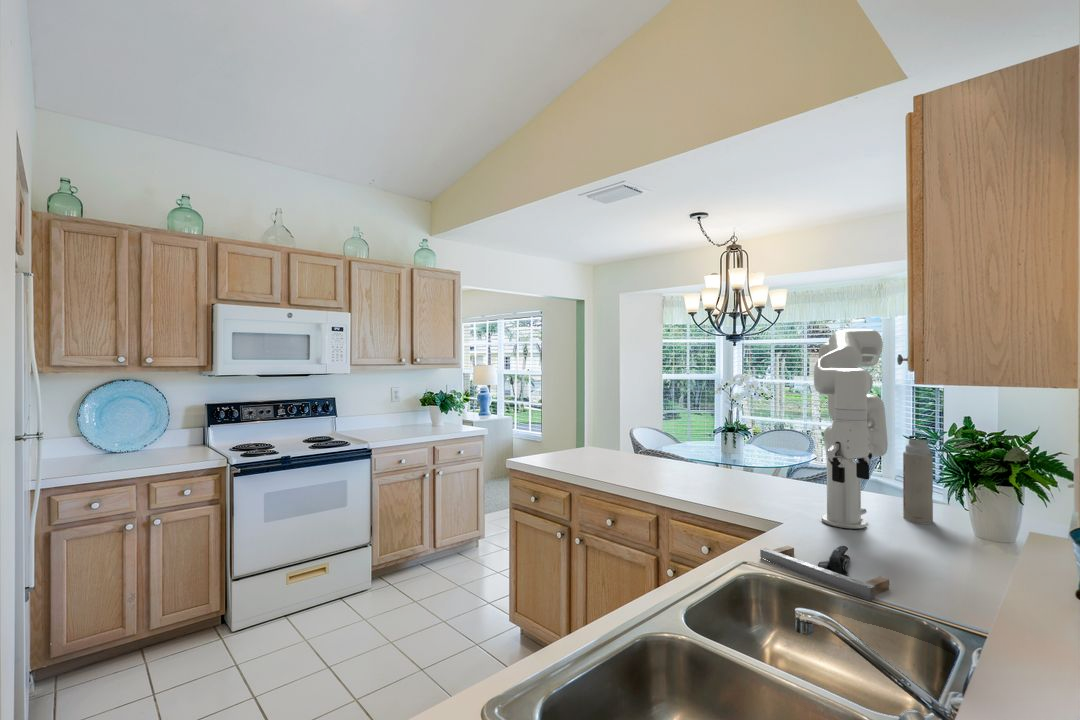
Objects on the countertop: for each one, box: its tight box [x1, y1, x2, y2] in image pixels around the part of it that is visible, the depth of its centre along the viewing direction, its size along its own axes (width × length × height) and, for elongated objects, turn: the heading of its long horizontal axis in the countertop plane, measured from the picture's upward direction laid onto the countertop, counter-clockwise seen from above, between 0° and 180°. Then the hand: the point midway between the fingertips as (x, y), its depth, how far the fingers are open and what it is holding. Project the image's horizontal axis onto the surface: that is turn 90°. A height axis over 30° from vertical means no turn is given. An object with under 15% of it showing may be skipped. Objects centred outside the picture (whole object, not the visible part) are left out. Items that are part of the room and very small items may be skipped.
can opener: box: [817, 545, 851, 576], centre depth 136 cm, size 18×7×6 cm, turn 139°
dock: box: [759, 545, 890, 602], centre depth 132 cm, size 10×28×3 cm, turn 30°
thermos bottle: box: [902, 435, 934, 525], centre depth 176 cm, size 8×8×28 cm
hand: (850, 480), depth 141 cm, fingers open, 9 cm apart
